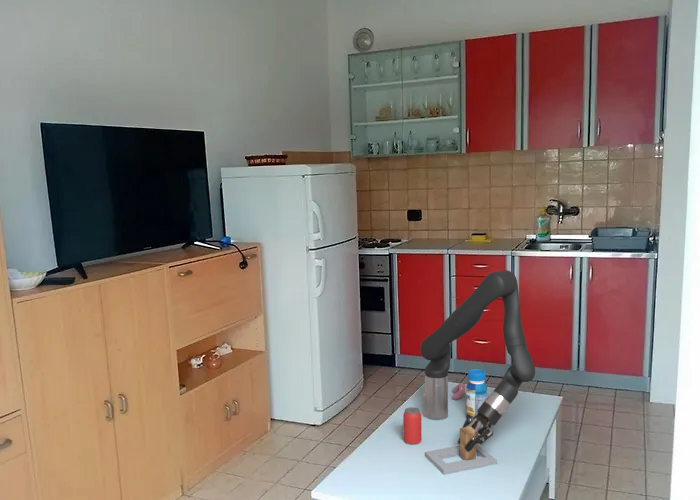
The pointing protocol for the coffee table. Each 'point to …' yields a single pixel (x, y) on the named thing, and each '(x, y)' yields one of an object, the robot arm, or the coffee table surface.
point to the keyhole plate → (461, 465)
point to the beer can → (412, 425)
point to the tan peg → (465, 437)
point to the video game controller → (458, 391)
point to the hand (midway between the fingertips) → (463, 446)
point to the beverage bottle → (475, 391)
